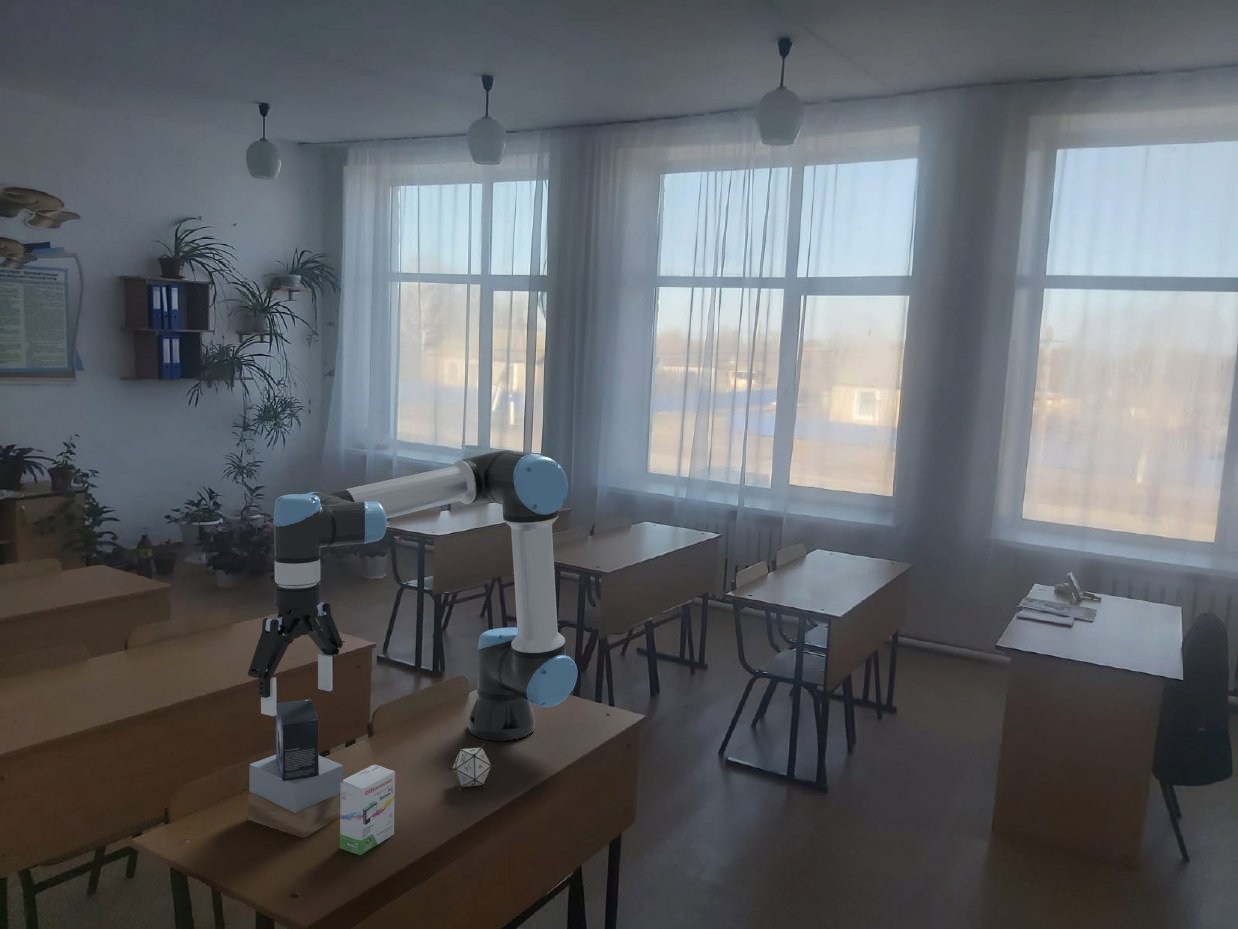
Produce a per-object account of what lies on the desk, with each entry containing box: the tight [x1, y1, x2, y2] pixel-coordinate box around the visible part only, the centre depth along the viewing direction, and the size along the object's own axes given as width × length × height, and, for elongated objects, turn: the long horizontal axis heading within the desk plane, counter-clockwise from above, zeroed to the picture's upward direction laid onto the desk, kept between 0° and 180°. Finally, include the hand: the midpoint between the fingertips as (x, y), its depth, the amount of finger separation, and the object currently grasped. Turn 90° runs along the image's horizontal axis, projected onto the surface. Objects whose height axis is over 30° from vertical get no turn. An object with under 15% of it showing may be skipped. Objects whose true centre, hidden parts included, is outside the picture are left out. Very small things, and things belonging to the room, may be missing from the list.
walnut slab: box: [247, 792, 340, 839], centre depth 160 cm, size 10×13×5 cm
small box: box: [275, 698, 320, 781], centre depth 158 cm, size 11×6×10 cm, turn 27°
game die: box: [448, 743, 496, 792], centre depth 175 cm, size 9×8×10 cm
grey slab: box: [248, 754, 344, 813], centre depth 160 cm, size 10×13×5 cm
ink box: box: [339, 764, 396, 856], centre depth 152 cm, size 8×5×12 cm, turn 153°
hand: (298, 701), depth 158 cm, fingers open, 13 cm apart
